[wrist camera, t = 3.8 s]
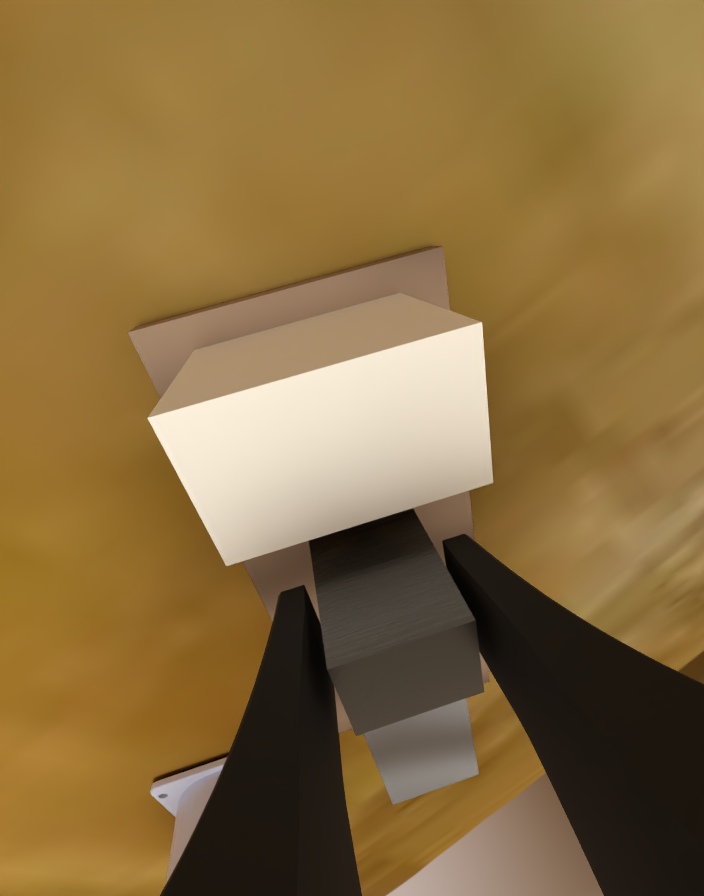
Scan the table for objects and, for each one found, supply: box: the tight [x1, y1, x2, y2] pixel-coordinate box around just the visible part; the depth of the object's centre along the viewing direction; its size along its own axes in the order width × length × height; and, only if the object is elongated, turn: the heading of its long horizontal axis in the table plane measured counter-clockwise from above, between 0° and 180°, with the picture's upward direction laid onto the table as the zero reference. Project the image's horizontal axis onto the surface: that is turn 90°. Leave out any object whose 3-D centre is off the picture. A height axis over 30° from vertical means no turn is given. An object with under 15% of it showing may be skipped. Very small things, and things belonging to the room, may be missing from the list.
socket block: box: [148, 293, 493, 566], centre depth 11 cm, size 4×7×6 cm, turn 103°
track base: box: [128, 246, 489, 805], centre depth 17 cm, size 24×10×5 cm, turn 13°
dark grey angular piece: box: [309, 508, 484, 736], centre depth 13 cm, size 14×3×8 cm, turn 13°
